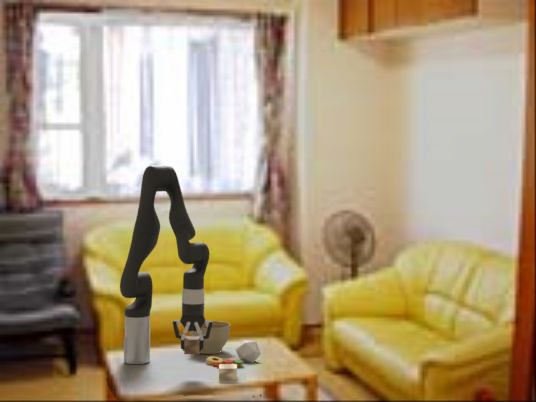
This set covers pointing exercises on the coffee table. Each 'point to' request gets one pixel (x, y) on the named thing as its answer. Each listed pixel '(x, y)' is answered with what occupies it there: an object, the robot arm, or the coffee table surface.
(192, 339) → the walnut cube
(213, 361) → the toy food set
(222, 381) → the board
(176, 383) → the coffee table surface
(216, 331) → the planter bowl
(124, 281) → the robot arm
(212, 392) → the coffee table surface
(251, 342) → the die
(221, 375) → the beech block
